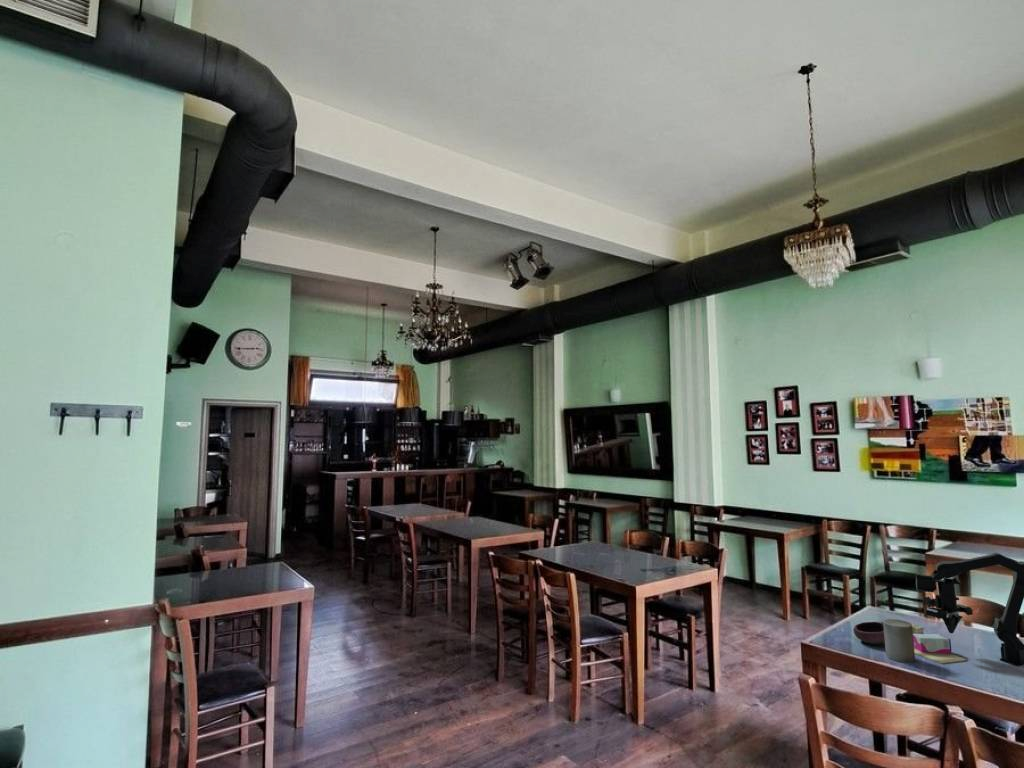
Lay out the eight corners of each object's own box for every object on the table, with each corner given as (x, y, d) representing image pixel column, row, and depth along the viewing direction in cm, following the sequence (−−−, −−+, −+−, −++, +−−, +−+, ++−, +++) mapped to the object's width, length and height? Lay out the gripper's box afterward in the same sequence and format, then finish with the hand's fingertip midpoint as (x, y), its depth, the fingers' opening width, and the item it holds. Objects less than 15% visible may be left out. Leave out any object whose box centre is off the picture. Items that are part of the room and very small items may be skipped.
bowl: (888, 651, 226) (886, 630, 227) (852, 643, 235) (850, 624, 235) (892, 640, 239) (890, 621, 240) (857, 633, 247) (856, 615, 248)
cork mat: (967, 660, 216) (967, 659, 216) (941, 664, 213) (941, 663, 213) (929, 647, 231) (929, 646, 231) (905, 650, 227) (905, 649, 227)
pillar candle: (913, 656, 221) (910, 617, 223) (916, 664, 212) (913, 624, 214) (884, 652, 226) (881, 614, 227) (886, 660, 217) (883, 620, 219)
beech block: (924, 646, 231) (923, 627, 232) (918, 648, 230) (917, 628, 230) (914, 643, 235) (913, 624, 236) (908, 644, 233) (907, 625, 234)
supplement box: (940, 634, 229) (911, 633, 230) (950, 639, 223) (920, 638, 224) (942, 648, 228) (912, 647, 229) (952, 653, 222) (922, 652, 223)
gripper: (944, 587, 237) (947, 624, 235) (911, 590, 232) (914, 629, 230) (971, 593, 227) (975, 633, 225) (937, 597, 222) (941, 637, 220)
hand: (951, 633), depth 225 cm, fingers closed
